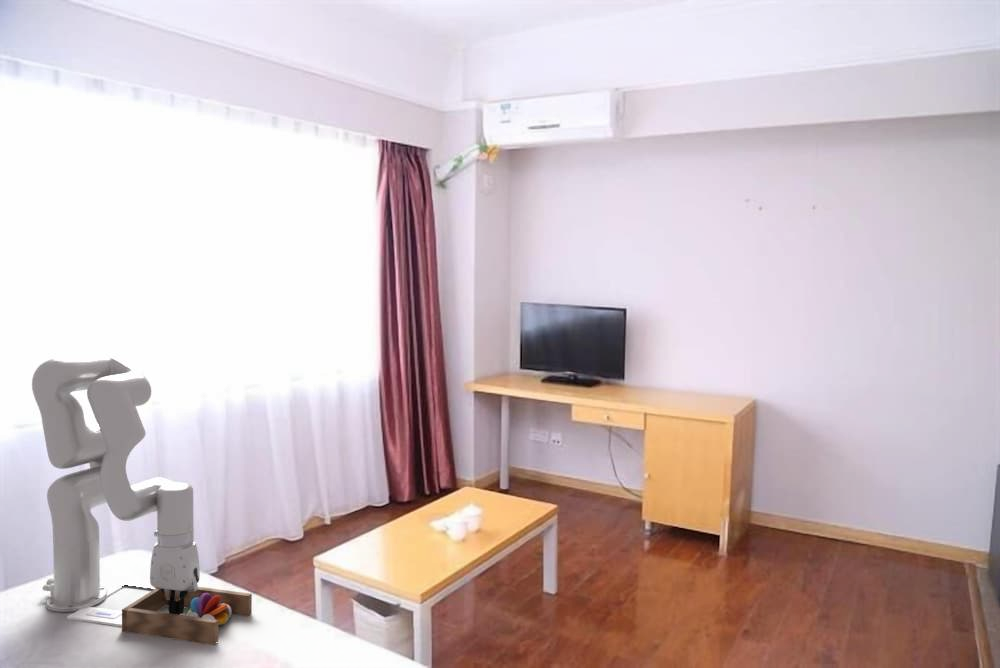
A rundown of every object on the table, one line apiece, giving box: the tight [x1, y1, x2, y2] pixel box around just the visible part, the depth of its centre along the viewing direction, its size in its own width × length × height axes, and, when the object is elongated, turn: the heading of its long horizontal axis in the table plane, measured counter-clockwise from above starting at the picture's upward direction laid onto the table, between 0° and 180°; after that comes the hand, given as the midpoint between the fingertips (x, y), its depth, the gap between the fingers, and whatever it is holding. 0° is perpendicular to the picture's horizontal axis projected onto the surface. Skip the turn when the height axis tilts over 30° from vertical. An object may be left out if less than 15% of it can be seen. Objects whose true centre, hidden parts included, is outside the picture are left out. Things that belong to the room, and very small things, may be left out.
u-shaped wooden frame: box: [121, 586, 253, 645], centre depth 156 cm, size 23×14×5 cm, turn 79°
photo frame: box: [66, 583, 156, 628], centre depth 164 cm, size 15×1×18 cm
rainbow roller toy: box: [185, 593, 232, 626], centre depth 156 cm, size 8×10×7 cm
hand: (176, 614), depth 157 cm, fingers closed
